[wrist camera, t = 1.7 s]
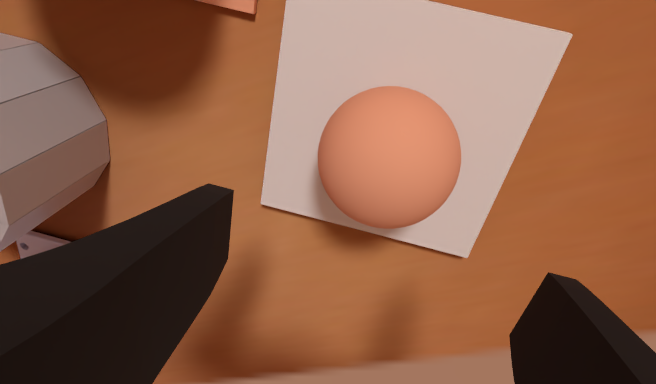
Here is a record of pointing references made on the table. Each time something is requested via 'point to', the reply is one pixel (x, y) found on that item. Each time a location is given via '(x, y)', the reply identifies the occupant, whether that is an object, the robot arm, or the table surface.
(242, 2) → the tube
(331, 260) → the table surface
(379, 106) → the terracotta ball
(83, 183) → the grey faceted cup
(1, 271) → the robot arm
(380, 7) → the ball mat
